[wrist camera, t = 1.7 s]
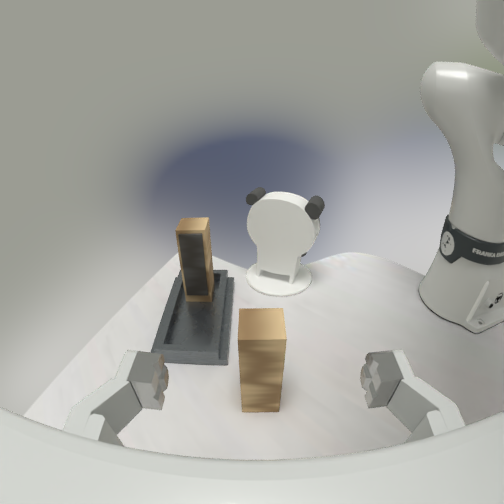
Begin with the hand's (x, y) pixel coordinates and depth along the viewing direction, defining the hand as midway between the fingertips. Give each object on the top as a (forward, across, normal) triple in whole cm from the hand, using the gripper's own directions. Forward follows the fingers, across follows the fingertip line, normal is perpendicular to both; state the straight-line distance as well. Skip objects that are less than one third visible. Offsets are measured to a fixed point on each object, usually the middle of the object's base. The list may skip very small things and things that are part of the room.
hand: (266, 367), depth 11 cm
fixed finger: (+31, +9, +19) cm, 38 cm away
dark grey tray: (+27, +9, +20) cm, 35 cm away
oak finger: (+13, 0, +21) cm, 24 cm away
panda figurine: (+37, -4, +20) cm, 42 cm away
